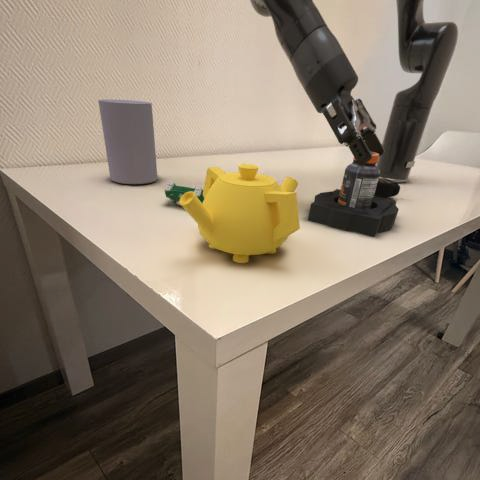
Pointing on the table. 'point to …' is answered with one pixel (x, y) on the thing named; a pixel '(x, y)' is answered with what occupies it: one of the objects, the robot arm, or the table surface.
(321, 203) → the socket pad
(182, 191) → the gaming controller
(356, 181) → the pill bottle
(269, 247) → the teapot
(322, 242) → the table surface
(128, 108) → the container
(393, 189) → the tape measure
